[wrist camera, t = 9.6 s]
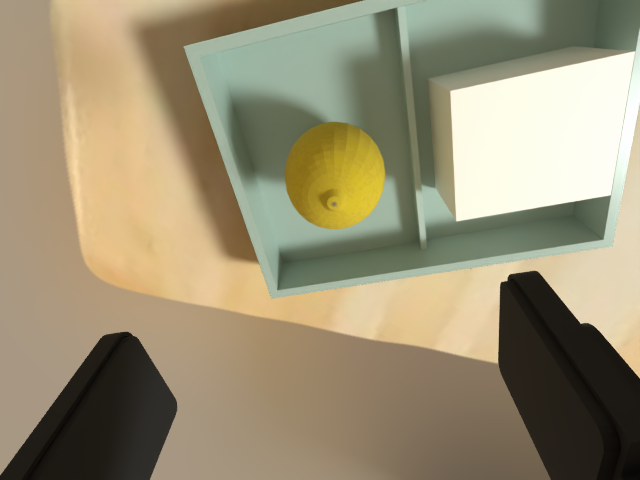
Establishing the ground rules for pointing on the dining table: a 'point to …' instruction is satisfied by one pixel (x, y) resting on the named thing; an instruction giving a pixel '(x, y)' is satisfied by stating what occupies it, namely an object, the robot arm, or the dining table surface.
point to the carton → (529, 130)
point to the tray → (393, 131)
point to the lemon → (334, 175)
